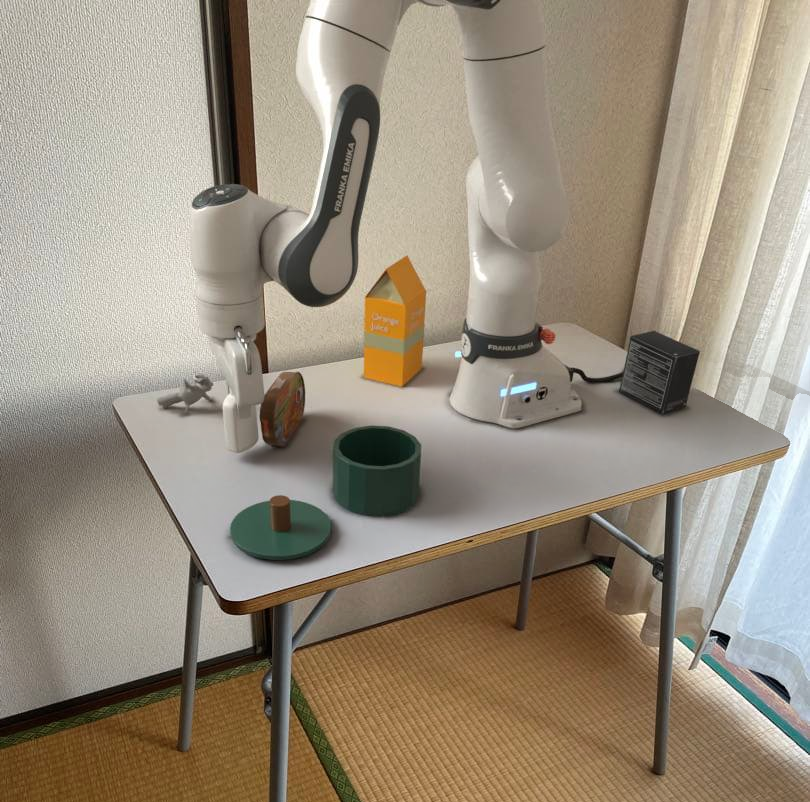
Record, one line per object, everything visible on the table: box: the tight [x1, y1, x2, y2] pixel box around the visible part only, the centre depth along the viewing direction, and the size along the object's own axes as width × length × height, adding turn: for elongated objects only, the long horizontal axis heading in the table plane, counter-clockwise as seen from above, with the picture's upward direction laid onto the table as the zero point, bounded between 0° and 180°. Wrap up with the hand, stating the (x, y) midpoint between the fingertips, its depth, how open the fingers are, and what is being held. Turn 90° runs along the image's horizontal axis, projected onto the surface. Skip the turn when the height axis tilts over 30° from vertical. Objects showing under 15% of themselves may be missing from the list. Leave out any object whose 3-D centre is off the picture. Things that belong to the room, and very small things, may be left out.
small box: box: [618, 330, 701, 415], centre depth 148 cm, size 11×6×10 cm, turn 34°
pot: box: [332, 424, 422, 517], centre depth 121 cm, size 12×12×8 cm
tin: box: [259, 371, 306, 447], centre depth 134 cm, size 15×3×8 cm, turn 168°
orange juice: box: [363, 255, 427, 387], centre depth 150 cm, size 8×9×20 cm
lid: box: [229, 494, 332, 561], centre depth 112 cm, size 13×13×5 cm
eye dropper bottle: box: [222, 387, 260, 454], centre depth 125 cm, size 4×6×12 cm
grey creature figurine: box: [156, 371, 214, 415], centre depth 139 cm, size 10×6×9 cm
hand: (239, 406), depth 125 cm, fingers closed on eye dropper bottle, 5 cm apart
